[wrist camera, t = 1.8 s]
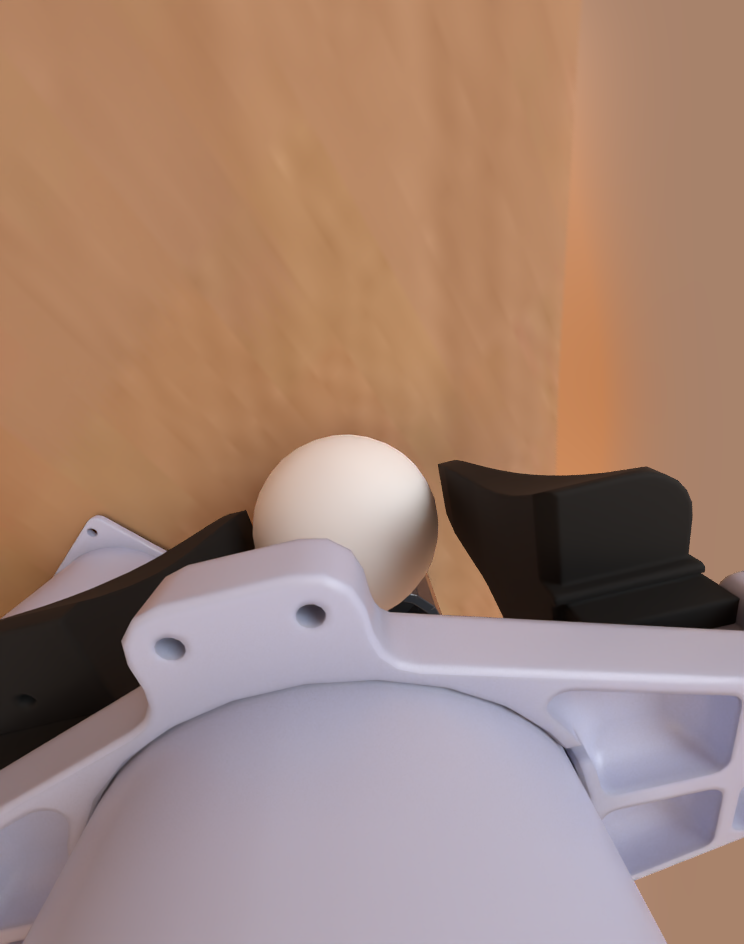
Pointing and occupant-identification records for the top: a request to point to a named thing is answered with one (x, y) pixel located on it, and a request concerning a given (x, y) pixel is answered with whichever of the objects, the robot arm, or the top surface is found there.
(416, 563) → the lightbulb
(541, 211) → the top surface
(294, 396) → the top surface
